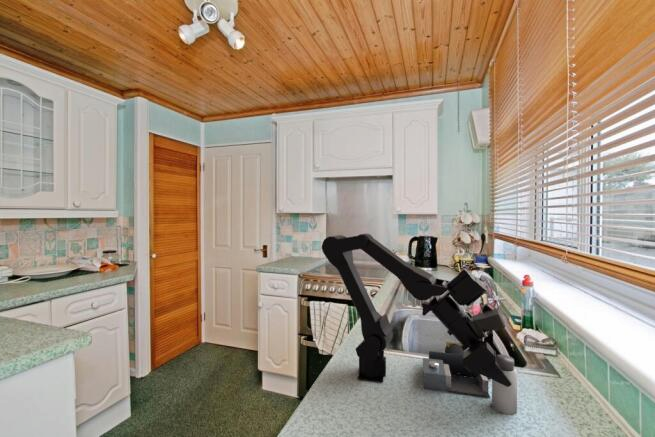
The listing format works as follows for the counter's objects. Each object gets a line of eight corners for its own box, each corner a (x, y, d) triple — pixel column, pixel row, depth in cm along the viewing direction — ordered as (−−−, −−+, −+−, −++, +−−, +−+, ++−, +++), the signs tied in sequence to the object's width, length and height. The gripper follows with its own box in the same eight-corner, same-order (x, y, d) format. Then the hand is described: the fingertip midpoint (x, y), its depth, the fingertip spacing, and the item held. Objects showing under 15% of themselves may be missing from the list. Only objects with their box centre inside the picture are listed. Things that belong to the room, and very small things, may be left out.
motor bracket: (424, 388, 76) (424, 369, 76) (422, 372, 83) (422, 354, 83) (489, 398, 72) (490, 377, 72) (482, 380, 80) (482, 361, 79)
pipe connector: (427, 338, 94) (481, 343, 90) (427, 355, 94) (480, 360, 91) (430, 355, 83) (492, 362, 79) (430, 375, 83) (491, 382, 79)
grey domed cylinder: (494, 412, 67) (495, 361, 66) (489, 399, 71) (489, 352, 71) (520, 416, 65) (520, 364, 65) (512, 402, 70) (513, 354, 70)
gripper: (481, 307, 62) (548, 375, 57) (480, 287, 78) (532, 338, 74) (439, 340, 65) (499, 406, 61) (447, 314, 82) (494, 364, 77)
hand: (507, 375), depth 68 cm, fingers open, 9 cm apart
